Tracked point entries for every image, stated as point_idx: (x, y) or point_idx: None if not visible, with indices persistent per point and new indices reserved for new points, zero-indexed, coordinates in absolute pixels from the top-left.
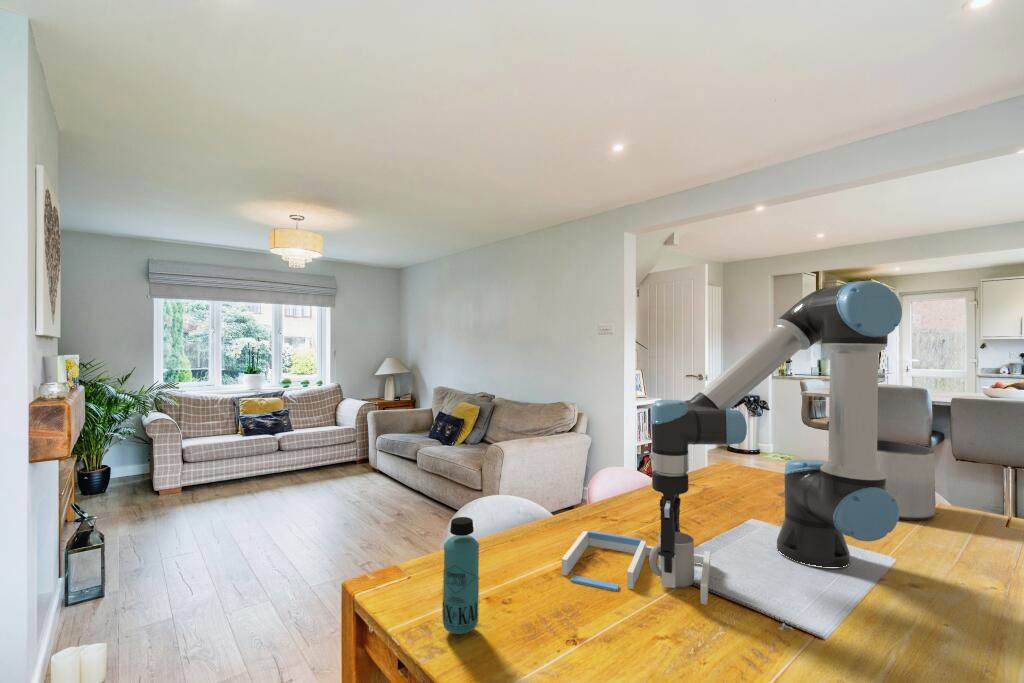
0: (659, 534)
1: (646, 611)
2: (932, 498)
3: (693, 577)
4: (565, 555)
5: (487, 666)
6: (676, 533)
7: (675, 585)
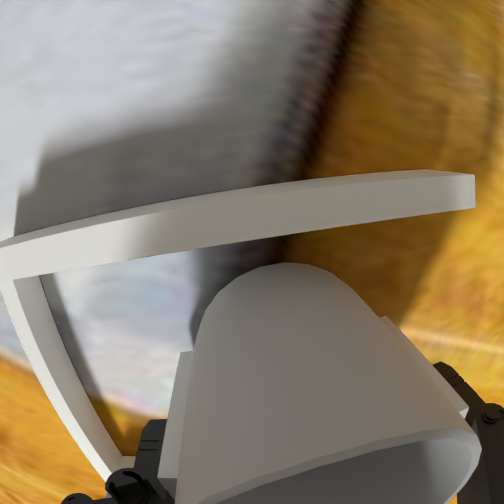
0: None
1: (501, 331)
2: None
3: (301, 270)
4: None
5: None
6: None
7: (387, 321)
